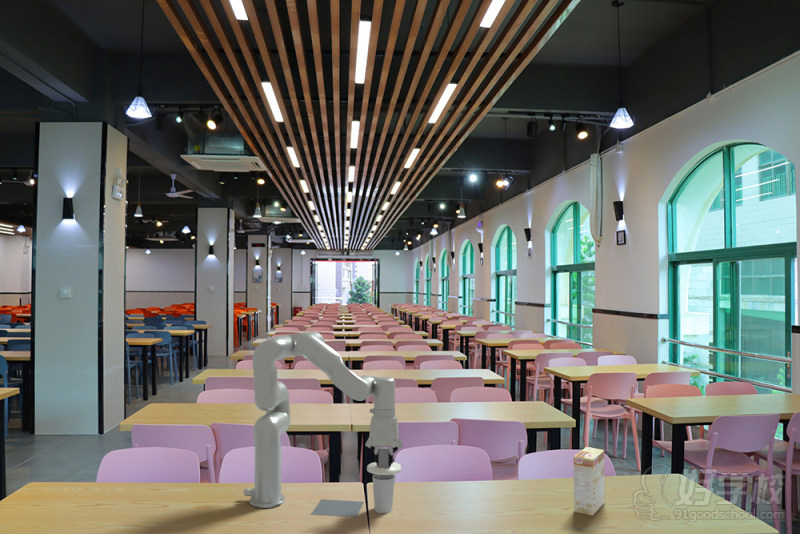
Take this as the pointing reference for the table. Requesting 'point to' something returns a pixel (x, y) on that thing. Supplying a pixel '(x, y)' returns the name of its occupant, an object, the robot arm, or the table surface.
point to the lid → (384, 464)
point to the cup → (383, 492)
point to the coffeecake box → (589, 481)
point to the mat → (338, 508)
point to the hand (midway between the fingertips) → (384, 464)
